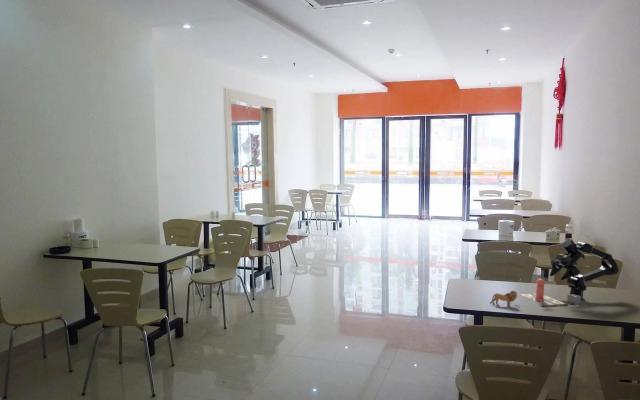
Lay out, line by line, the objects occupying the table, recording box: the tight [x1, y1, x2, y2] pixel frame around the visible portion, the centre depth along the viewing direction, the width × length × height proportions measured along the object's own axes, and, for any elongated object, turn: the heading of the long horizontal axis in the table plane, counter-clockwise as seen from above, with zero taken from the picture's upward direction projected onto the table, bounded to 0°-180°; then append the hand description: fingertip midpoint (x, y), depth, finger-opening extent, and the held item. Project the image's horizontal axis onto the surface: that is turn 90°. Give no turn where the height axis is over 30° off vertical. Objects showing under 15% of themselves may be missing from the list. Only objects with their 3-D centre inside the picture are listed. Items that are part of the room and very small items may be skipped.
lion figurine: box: [489, 290, 518, 308], centre depth 270 cm, size 15×5×9 cm, turn 77°
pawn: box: [534, 278, 546, 303], centre depth 276 cm, size 5×5×13 cm
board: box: [520, 292, 569, 309], centre depth 280 cm, size 16×23×1 cm
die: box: [566, 294, 582, 307], centre depth 275 cm, size 5×5×5 cm
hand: (555, 277), depth 281 cm, fingers open, 9 cm apart
